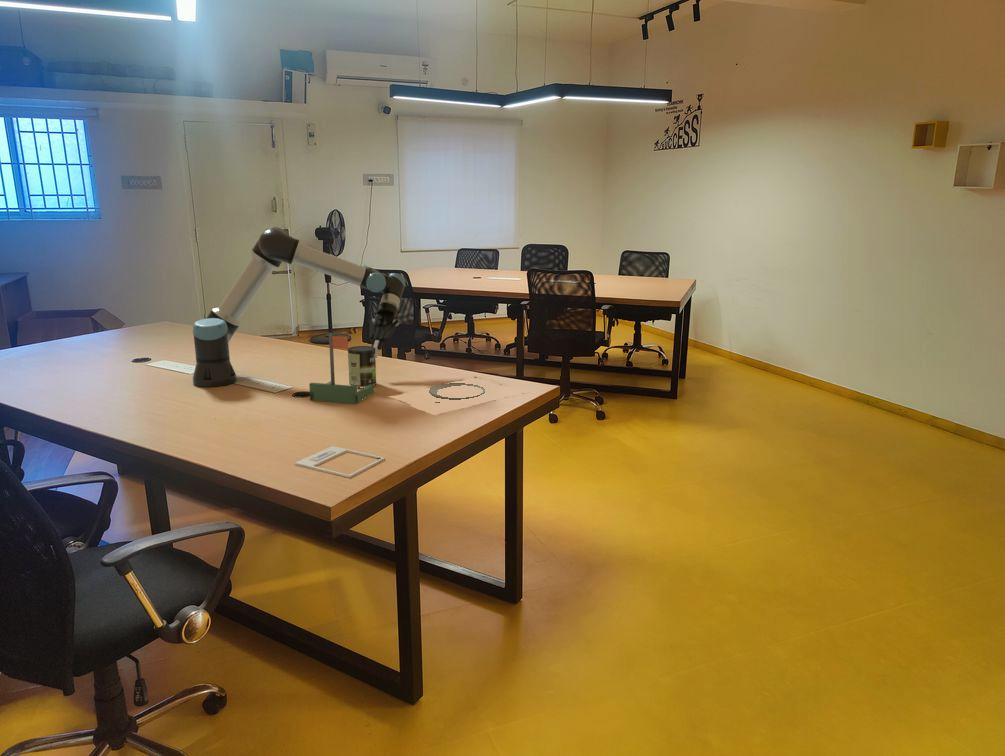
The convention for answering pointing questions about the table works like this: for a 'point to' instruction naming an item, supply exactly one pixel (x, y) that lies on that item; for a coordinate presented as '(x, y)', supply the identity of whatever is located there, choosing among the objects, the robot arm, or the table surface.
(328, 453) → the photo frame
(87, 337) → the table surface
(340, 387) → the green frame
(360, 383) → the coffee can
